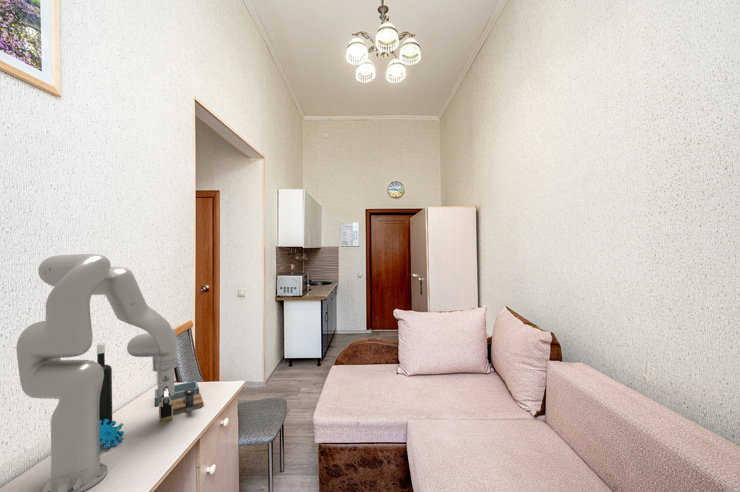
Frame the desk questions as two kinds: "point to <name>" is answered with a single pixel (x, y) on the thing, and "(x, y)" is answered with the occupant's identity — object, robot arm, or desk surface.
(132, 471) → the desk surface
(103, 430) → the blue lobed piece
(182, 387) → the tray
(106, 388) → the wine bottle
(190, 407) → the crank
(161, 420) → the block
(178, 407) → the crank base
